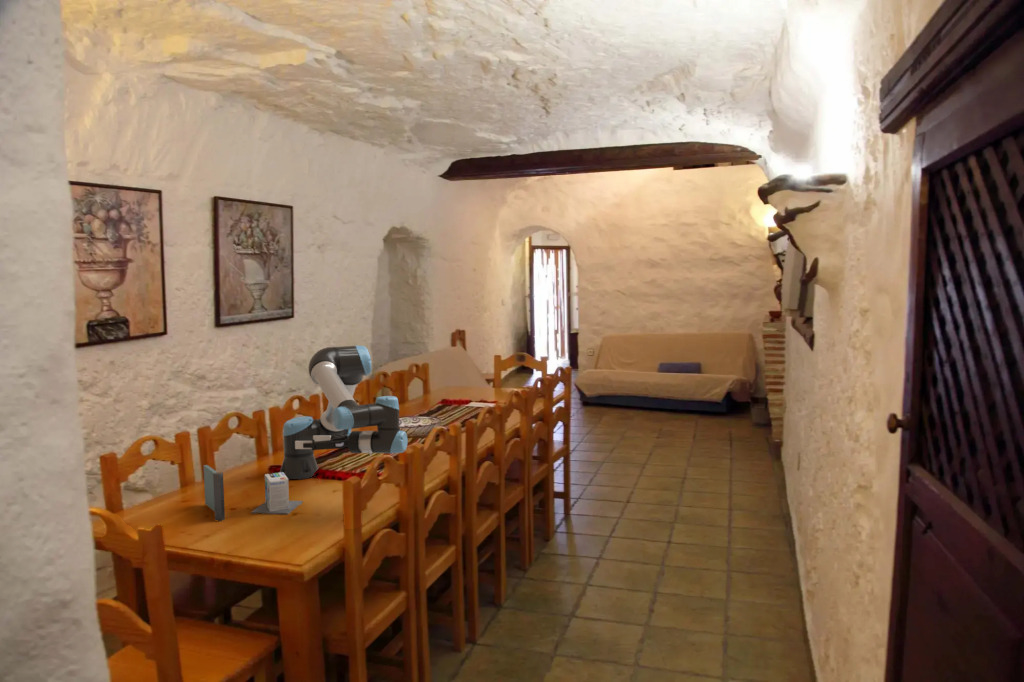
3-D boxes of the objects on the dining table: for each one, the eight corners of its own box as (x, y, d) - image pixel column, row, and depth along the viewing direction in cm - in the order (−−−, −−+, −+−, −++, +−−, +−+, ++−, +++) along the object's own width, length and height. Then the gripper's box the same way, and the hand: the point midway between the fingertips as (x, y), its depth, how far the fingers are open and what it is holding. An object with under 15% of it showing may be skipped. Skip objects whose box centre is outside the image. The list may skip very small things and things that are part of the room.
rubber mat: (268, 501, 259) (268, 499, 259) (302, 502, 258) (302, 500, 258) (251, 513, 247) (251, 511, 247) (287, 514, 245) (287, 512, 245)
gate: (205, 503, 255) (203, 465, 254) (208, 503, 256) (207, 464, 255) (220, 516, 242) (219, 476, 240) (224, 516, 242) (222, 475, 241)
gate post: (218, 518, 241) (216, 472, 240) (224, 518, 241) (222, 472, 240) (215, 520, 239) (213, 474, 238) (221, 520, 239) (219, 474, 238)
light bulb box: (265, 503, 255) (263, 473, 254) (284, 500, 258) (283, 471, 257) (269, 512, 246) (268, 481, 245) (290, 509, 249) (289, 478, 248)
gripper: (348, 459, 234) (287, 458, 237) (375, 447, 258) (320, 447, 262) (347, 436, 234) (287, 436, 237) (375, 426, 258) (320, 427, 262)
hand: (304, 442), depth 250 cm, fingers open, 13 cm apart
